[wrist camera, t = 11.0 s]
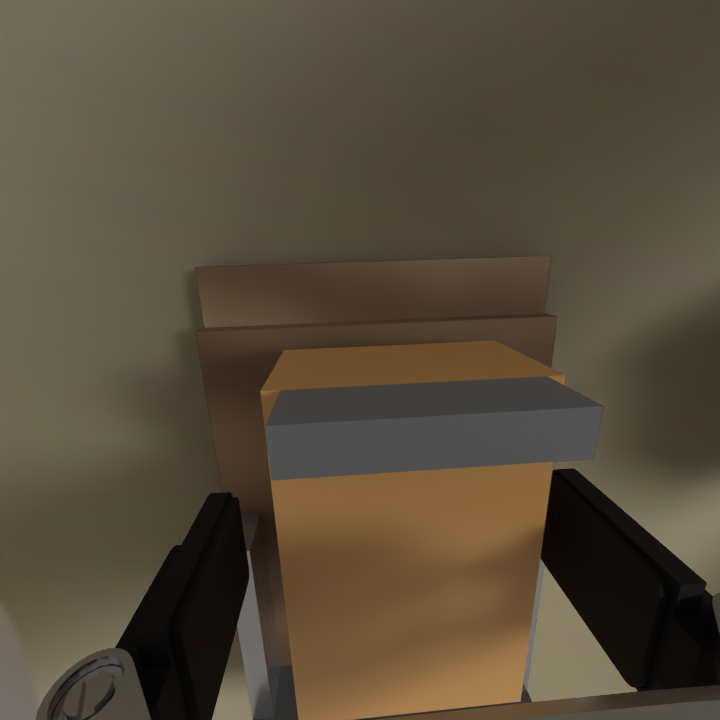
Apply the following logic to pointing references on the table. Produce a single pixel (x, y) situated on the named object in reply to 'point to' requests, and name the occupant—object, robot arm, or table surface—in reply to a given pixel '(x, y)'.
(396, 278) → the loading dock
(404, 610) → the orange block
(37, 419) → the table surface
